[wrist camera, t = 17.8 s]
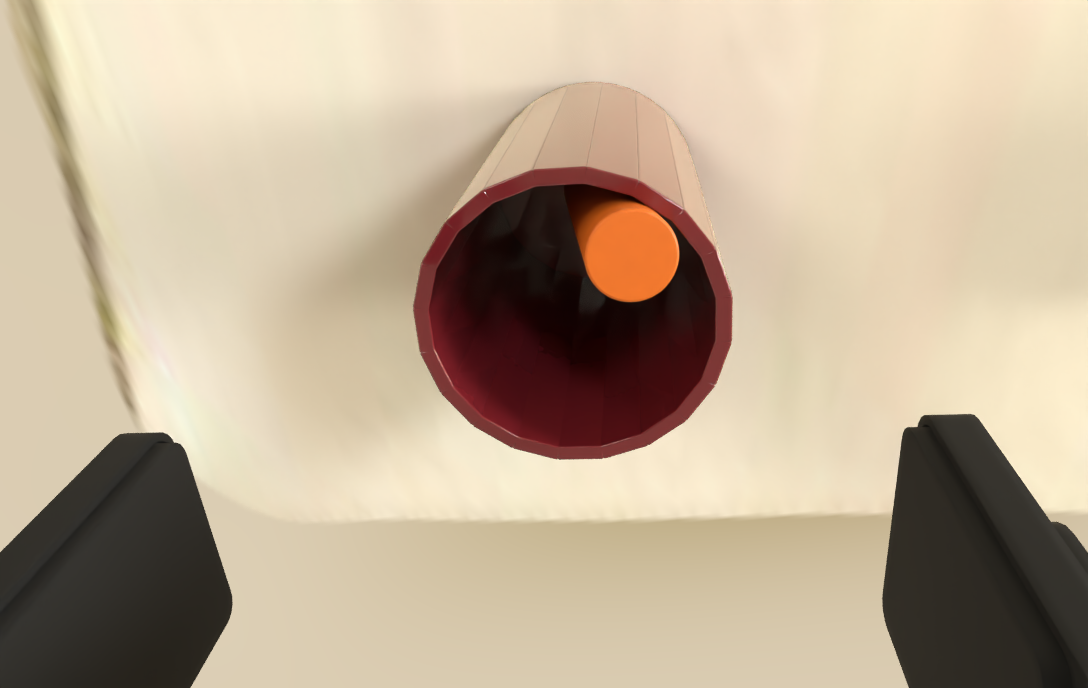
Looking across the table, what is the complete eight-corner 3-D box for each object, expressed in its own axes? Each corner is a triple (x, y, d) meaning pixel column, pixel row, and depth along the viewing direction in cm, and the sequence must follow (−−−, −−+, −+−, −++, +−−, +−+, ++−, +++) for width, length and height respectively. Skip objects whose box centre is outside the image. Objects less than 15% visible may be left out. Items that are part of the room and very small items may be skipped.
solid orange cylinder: (561, 164, 27) (581, 212, 16) (617, 160, 27) (678, 204, 16) (565, 220, 28) (587, 306, 16) (620, 216, 28) (680, 299, 16)
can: (482, 89, 27) (391, 178, 17) (693, 74, 26) (734, 157, 16) (503, 283, 30) (436, 462, 20) (694, 275, 29) (730, 456, 19)
